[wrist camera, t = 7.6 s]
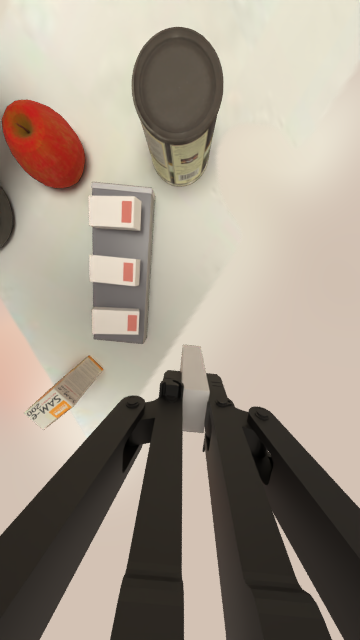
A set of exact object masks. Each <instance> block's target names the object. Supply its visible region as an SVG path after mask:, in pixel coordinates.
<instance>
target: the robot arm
mask: <svg viewBox="0 0 360 640" xmlns="http://www.w3.org/2000/svg"><path fill="white" fill-rule="evenodd" d="M12 223H13V218H12V210H11V206H10V203H9V200H8V198H7V196H6V194H5V192H4V191H3V189H2V188H1V186H0V247H2V246H3V245H4V244H5V242H6V241H7V240H8V238H9V236H10V233H11V230H12ZM204 426H205V439H204V445H203V452H204V451H205V452H206V461H207V470H208V478H209V487H210V496H211V505H212V514H213V522H214V531H215V541H216V548H217V558H218V567H219V576H220V585H221V593H222V603H223V611H224V620H225V630H226V640H332V639H331V636H330V634H329V631H328V629H327V626H326V624H325V621H324V619H323V617H322V614H321V612H320V610H319V608H318V606H317V604H316V602H315V601H314V599H313V598H312V596H311V595H310V594H309V593H307V592H306V591H304V590H302V588H301V587H300V585H299V583H298V581H297V579H296V577H295V574H294V571H293V568H292V565H291V562H290V560H289V557H288V554H287V551H286V548H285V546H284V543H283V540H282V537H281V535H280V532H279V529H278V526H277V523H276V521H275V518H274V515H275V516H276V518H277V520H278V522H279V524H280V526H281V527H282V529H283V531H284V533H285V535H286V537H287V538H288V540H289V542H290V544H291V545H292V547H293V549H294V551H295V553H296V554H297V556H298V558H299V560H300V561H301V563H302V565H303V567H304V569H305V570H306V572H307V574H308V576H309V578H310V579H311V581H312V583H313V585H314V587H315V588H316V590H317V592H318V594H319V595H320V597H321V599H322V601H323V602H324V604H325V606H326V608H327V610H328V612H329V613H330V615H331V617H332V619H333V620H334V622H335V624H336V626H337V628H338V629H339V631H340V633H341V635H342V637H343V638H344V640H360V508H359V507H358V506H357V505H356V504H355V503H354V502H353V501H352V500H351V499H350V497H349V496H348V495H347V494H346V493H345V492H344V491H343V490H342V489H341V488H340V487H339V486H338V484H337V483H335V481H334V480H333V479H332V478H331V477H330V476H329V475H328V474H327V472H326V471H325V470H324V469H323V468H322V467H321V466H320V465H319V464H318V463H317V462H316V461H315V459H314V458H313V457H312V456H311V455H310V454H309V453H308V452H307V451H306V450H305V449H304V448H303V446H302V445H301V444H300V443H299V442H298V441H297V440H296V439H295V438H294V437H293V436H292V435H291V434H290V432H289V431H288V430H287V429H286V428H285V427H284V426H283V425H282V424H281V423H280V421H278V419H277V418H276V417H275V416H274V415H273V414H272V413H271V412H270V411H268V410H266V409H264V408H261V407H251V408H250V409H249V412H246V411H242V410H240V409H237V408H235V406H234V404H233V402H232V401H231V400H230V399H229V398H227V395H226V392H225V389H224V387H223V384H222V380H221V378H220V377H219V376H218V375H217V374H208V373H206V371H205V366H204V362H203V356H202V352H201V347H200V346H192V345H183V349H182V358H181V368H180V371H171V370H168V371H167V372H165V374H164V378H163V381H162V382H161V383H160V392H159V398H158V399H156V400H154V401H151V402H145V400H144V399H143V398H141V397H139V396H128V397H125V398H123V399H122V400H121V401H120V402H119V403H118V404H117V405H116V407H115V408H114V409H113V410H112V411H111V412H110V413H109V414H108V416H107V417H106V418H105V419H104V420H103V421H102V422H101V423H100V425H99V426H98V427H97V428H96V429H95V430H94V431H93V432H92V434H91V435H90V436H89V437H88V438H87V439H86V440H85V441H84V442H83V444H82V445H81V446H80V447H79V448H78V449H77V450H76V452H75V453H74V454H73V455H72V456H71V457H70V458H69V459H68V460H67V462H66V463H65V464H64V465H63V466H62V467H61V468H60V469H59V471H58V472H57V473H56V474H55V475H54V476H53V477H52V478H51V480H50V481H49V482H48V483H47V484H46V485H45V486H44V487H43V489H42V490H41V491H40V492H39V493H38V494H37V495H36V497H35V498H34V499H33V500H32V501H31V502H30V503H29V504H28V506H26V508H25V509H24V510H23V511H22V512H21V513H20V514H19V516H18V517H17V518H16V519H15V520H14V521H13V522H12V523H11V524H10V526H9V527H8V528H7V529H6V530H5V531H4V532H3V534H2V535H1V536H0V640H40V638H41V636H42V634H43V632H44V630H45V628H46V627H47V625H48V623H49V621H50V619H51V617H52V615H53V613H54V612H55V610H56V608H57V606H58V604H59V602H60V600H61V598H62V597H63V595H64V593H65V591H66V589H67V587H68V585H69V583H70V581H71V580H72V578H73V576H74V574H75V572H76V570H77V568H78V566H79V565H80V563H81V561H82V559H83V557H84V555H85V553H86V551H87V550H88V548H89V546H90V544H91V542H92V540H93V538H94V536H95V534H96V533H97V531H98V529H99V527H100V525H101V523H102V521H103V520H104V517H105V516H106V514H107V512H108V510H109V508H110V506H111V504H112V502H113V501H114V499H115V497H116V495H117V493H118V491H119V489H120V488H121V486H122V484H123V482H124V480H125V478H126V476H127V474H128V472H129V471H130V469H131V467H132V465H133V463H134V461H135V459H136V458H137V455H138V454H139V452H140V450H141V448H142V445H143V444H146V443H150V448H149V453H148V458H147V463H146V469H145V474H144V479H143V485H142V490H141V495H140V500H139V506H138V511H137V516H136V522H135V527H134V533H133V538H132V543H131V549H130V553H129V559H128V564H127V569H126V573H125V575H124V577H123V580H122V585H121V588H120V594H119V598H118V603H117V608H116V613H115V618H114V623H113V628H112V633H111V639H110V640H184V591H183V581H182V571H181V570H182V568H181V567H182V566H181V565H182V564H181V563H182V431H187V432H198V433H203V432H204ZM268 451H269V452H268ZM270 454H271V455H270ZM273 513H274V515H273Z"/></svg>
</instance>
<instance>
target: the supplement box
mask: <svg viewBox="0 0 360 640" xmlns="http://www.w3.org/2000/svg"><path fill="white" fill-rule="evenodd" d="M102 370H103V369H102V368H101V367H100V366H99V365H98V364H97V363H96V362H95V361H94V360H93V359H92V358H91V357H90V356H88V357H87V358H86V359H85V360H83V361H82V362H81V363H80V364H79V365H77V366H76V367H75V368H74V369H72V370H71V371H70V372H69V373H68V374H67V375H65V376H64V377H63V378H62V379H61V380H59V381H58V382H57V383H56V384H55V385H54V386H53V387H52V388H50V389H49V390H48V391H47V392H46V393H45V394H44V395H43V396H42V397H41V398H40V399H38V400H37V401H36V402H35V403H34V404H33V405H32V406H31V407H30V408H29V409H28V410H27V411H26V412H25V413H24V414H25V415H26V416H27V417H28V418H30V419H31V420H32V421H33V422H34V423H35V424H37V425H38V426H39V427H40V428H42V429H43V430H44V429H45V428H47V427H48V426H49V425H51V424H52V423H53V422H55V421H56V420H57V419H58V418H60V417H61V416H62V415H63V414H65V413H66V412H67V411H68V410H70V409H71V408H72V407H73V406H74V405H75V404H76V403H77V402H78V400H79V399H80V398H81V397H82V395H83V394H84V393H85V392H86V390H87V389H88V388H89V386H90V385H91V384H92V383H93V381H94V380H95V379H96V378H97V377H98V375H99V374H100V373H101V372H102Z"/></svg>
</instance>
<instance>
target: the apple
mask: <svg viewBox="0 0 360 640" xmlns="http://www.w3.org/2000/svg"><path fill="white" fill-rule="evenodd" d="M2 127H3V133H4V136H5V139H6V142H7V144H8V146H9V148H10V150H11V152H12V155H13V156H14V157H15V159H16V160H17V162H18V163H19V164H20V165H21V167H22V168H23V169H24V170H25V171H26V172H27V173H28V174H29V175H30V176H32V177H33V178H34V179H36V180H38V181H39V182H41V183H43V184H45V185H46V186H50V187H53V188H65V187H70V186H72V185H73V184H75V183H77V182H78V181H79V179H80V177H81V175H82V173H83V169H84V163H85V154H84V150H83V146H82V144H81V142H80V140H79V138H78V136H77V134H76V133H75V132H74V131H73V129H72V128H71V127H70V125H69V124H68V123H67V121H66V120H65V119H64V118H63V117H62V116H61V115H60V114H58V113H57V112H55V111H54V110H52V109H51V108H50V107H48V106H46V105H43V104H40V103H38V102H35V101H31V100H18V101H14V102H13V103H11V104H10V105H9V106H7V108H6V110H5V113H4V115H3V117H2Z"/></svg>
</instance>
